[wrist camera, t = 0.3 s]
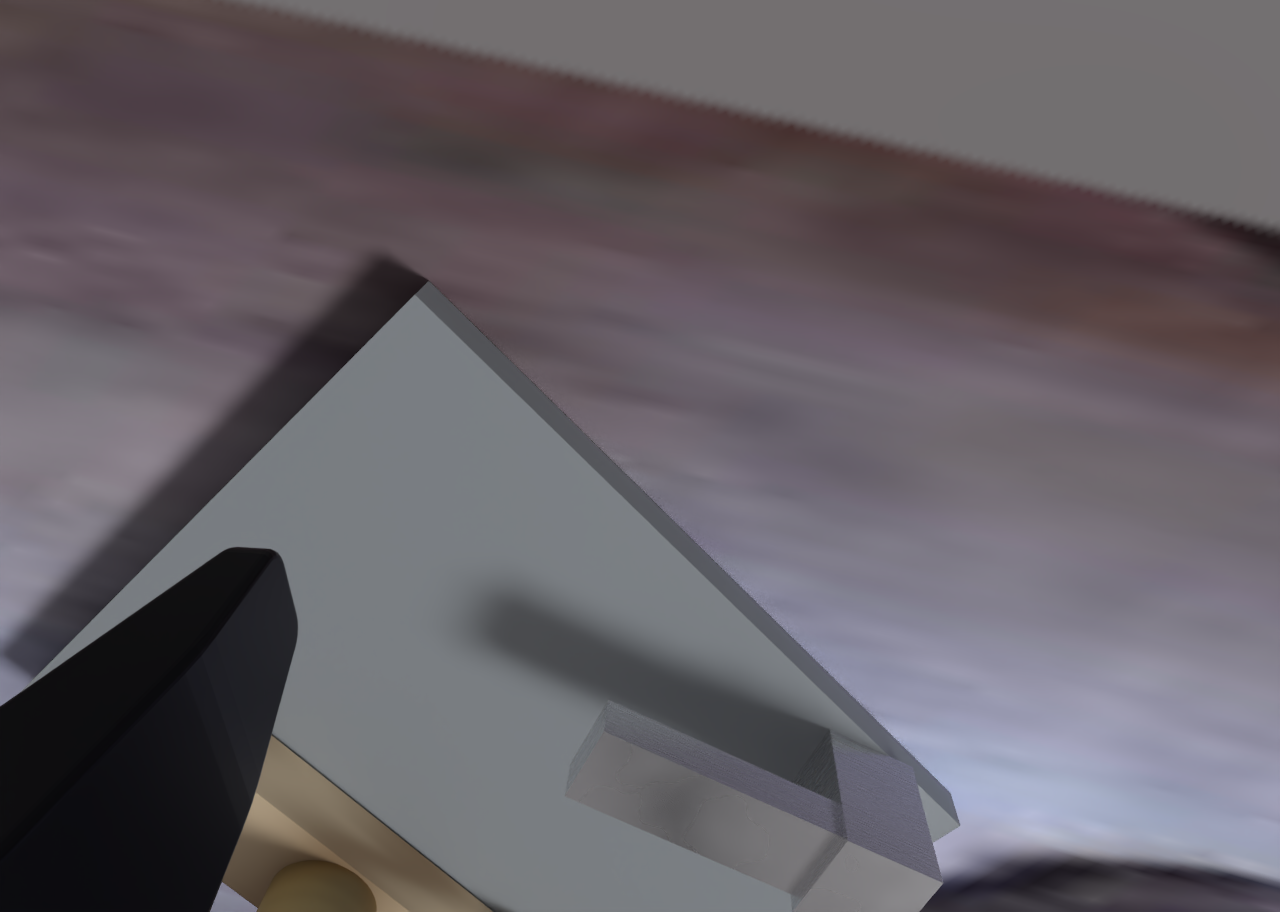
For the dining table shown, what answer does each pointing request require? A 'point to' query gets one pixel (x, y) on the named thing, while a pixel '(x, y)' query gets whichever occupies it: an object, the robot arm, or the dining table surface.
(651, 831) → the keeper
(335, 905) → the latch bar
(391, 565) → the board
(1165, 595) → the dining table surface
